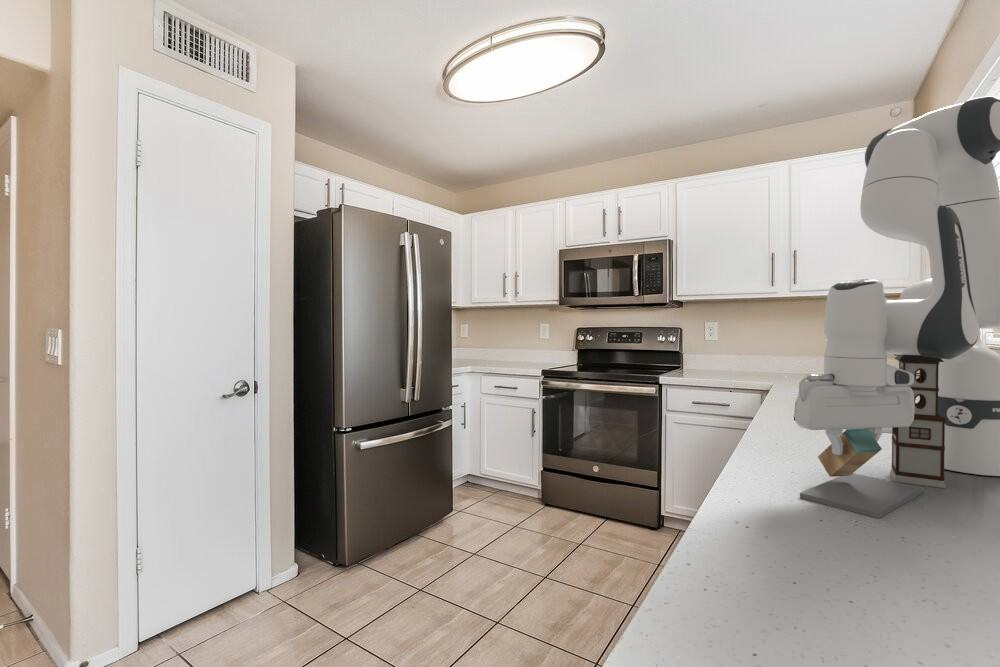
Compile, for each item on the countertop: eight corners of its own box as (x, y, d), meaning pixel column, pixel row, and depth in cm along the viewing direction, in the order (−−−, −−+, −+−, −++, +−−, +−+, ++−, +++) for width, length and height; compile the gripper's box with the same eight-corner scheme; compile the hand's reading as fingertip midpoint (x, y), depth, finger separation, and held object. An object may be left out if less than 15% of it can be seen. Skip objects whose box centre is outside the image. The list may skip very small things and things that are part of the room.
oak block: (817, 456, 92) (846, 429, 85) (837, 455, 92) (867, 428, 86) (829, 476, 89) (860, 450, 83) (849, 475, 90) (882, 449, 83)
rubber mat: (849, 476, 95) (849, 472, 95) (922, 492, 86) (922, 487, 86) (799, 497, 83) (799, 492, 83) (878, 518, 74) (878, 512, 74)
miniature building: (893, 481, 92) (895, 318, 92) (889, 472, 98) (891, 318, 97) (946, 488, 88) (948, 318, 88) (938, 478, 94) (940, 318, 94)
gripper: (814, 376, 82) (813, 461, 82) (923, 374, 84) (922, 456, 85) (786, 372, 88) (785, 451, 88) (888, 371, 91) (888, 447, 91)
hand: (853, 453), depth 86 cm, fingers closed on oak block, 4 cm apart
